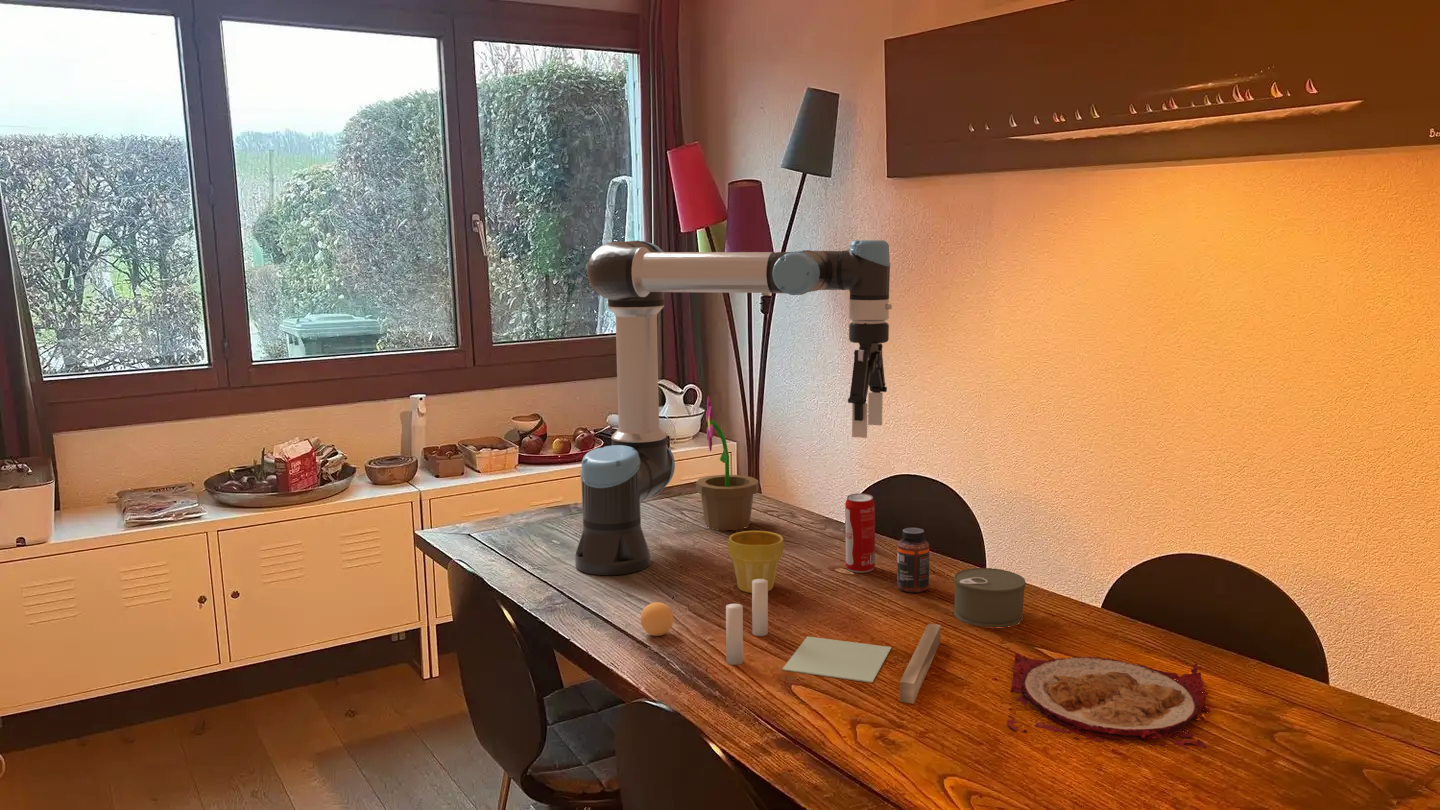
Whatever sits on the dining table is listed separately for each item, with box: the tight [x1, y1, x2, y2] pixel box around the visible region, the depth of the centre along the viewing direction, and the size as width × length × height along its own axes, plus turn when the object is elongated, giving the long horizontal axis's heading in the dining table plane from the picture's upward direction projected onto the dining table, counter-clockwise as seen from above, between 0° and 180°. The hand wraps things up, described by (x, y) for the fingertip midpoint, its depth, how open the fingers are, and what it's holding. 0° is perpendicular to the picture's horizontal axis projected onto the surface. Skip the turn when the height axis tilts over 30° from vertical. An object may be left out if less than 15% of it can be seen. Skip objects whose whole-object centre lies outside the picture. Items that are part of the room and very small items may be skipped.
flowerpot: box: [695, 395, 759, 531], centre depth 240 cm, size 14×14×30 cm
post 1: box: [725, 603, 744, 666], centre depth 164 cm, size 3×3×9 cm
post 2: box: [751, 579, 769, 637], centre depth 176 cm, size 3×3×9 cm
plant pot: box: [727, 530, 784, 594], centre depth 199 cm, size 10×10×10 cm
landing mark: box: [781, 635, 892, 684], centre depth 166 cm, size 14×14×1 cm
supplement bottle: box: [896, 527, 930, 594], centre depth 197 cm, size 6×6×11 cm
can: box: [953, 567, 1027, 628], centre depth 183 cm, size 12×12×7 cm
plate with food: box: [1006, 653, 1211, 751], centre depth 149 cm, size 25×26×4 cm
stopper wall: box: [899, 623, 941, 705], centre depth 161 cm, size 2×24×3 cm, turn 160°
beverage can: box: [844, 492, 876, 574], centre depth 208 cm, size 6×6×15 cm
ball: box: [640, 601, 674, 637], centre depth 176 cm, size 6×6×6 cm
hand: (867, 430), depth 205 cm, fingers open, 13 cm apart
